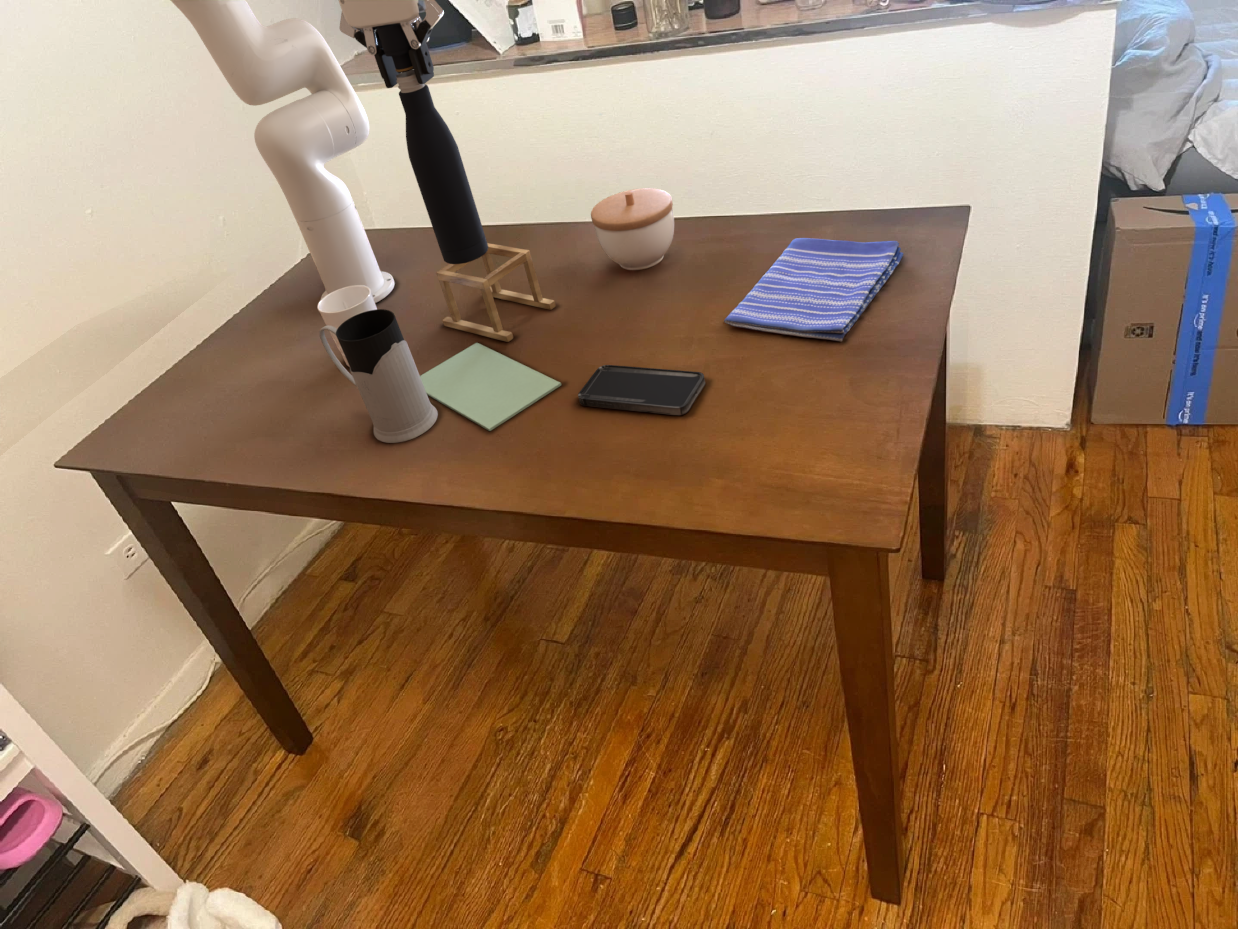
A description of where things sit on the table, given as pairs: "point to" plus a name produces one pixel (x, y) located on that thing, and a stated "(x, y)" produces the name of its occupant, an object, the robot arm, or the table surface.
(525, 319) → the table surface
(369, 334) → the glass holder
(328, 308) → the white cup
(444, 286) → the bottle stand
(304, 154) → the robot arm
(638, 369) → the phone
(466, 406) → the mat
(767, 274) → the dish towel
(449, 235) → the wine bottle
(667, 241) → the lidded bowl
